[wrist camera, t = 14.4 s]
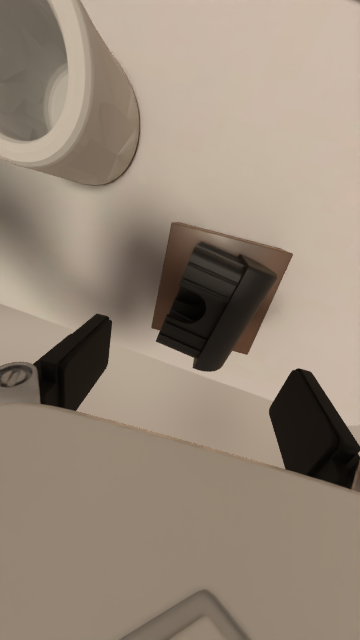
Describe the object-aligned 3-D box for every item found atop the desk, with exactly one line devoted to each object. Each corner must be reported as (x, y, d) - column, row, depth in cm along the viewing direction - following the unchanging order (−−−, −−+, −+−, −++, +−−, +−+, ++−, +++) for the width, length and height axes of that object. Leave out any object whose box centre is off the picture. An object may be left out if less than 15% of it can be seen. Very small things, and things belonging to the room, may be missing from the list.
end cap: (221, 344, 25) (223, 382, 19) (166, 320, 25) (151, 351, 19) (267, 265, 21) (289, 283, 15) (201, 236, 21) (196, 242, 15)
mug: (111, 18, 18) (13, -174, 9) (157, 161, 22) (117, 121, 13) (-1, 99, 22) (-150, 15, 13) (54, 210, 26) (-31, 204, 17)
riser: (158, 315, 30) (151, 328, 26) (178, 222, 24) (171, 222, 21) (243, 338, 29) (247, 355, 26) (281, 249, 24) (293, 254, 20)
